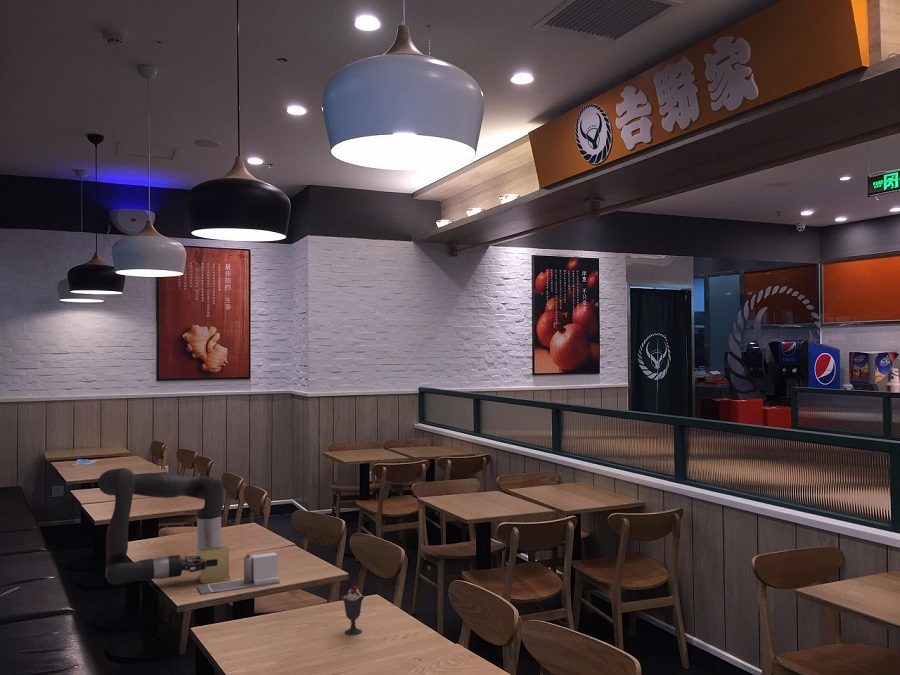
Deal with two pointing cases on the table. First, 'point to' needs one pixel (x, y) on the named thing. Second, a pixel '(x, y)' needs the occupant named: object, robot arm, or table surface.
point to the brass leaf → (217, 571)
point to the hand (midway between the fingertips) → (215, 560)
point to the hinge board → (249, 574)
